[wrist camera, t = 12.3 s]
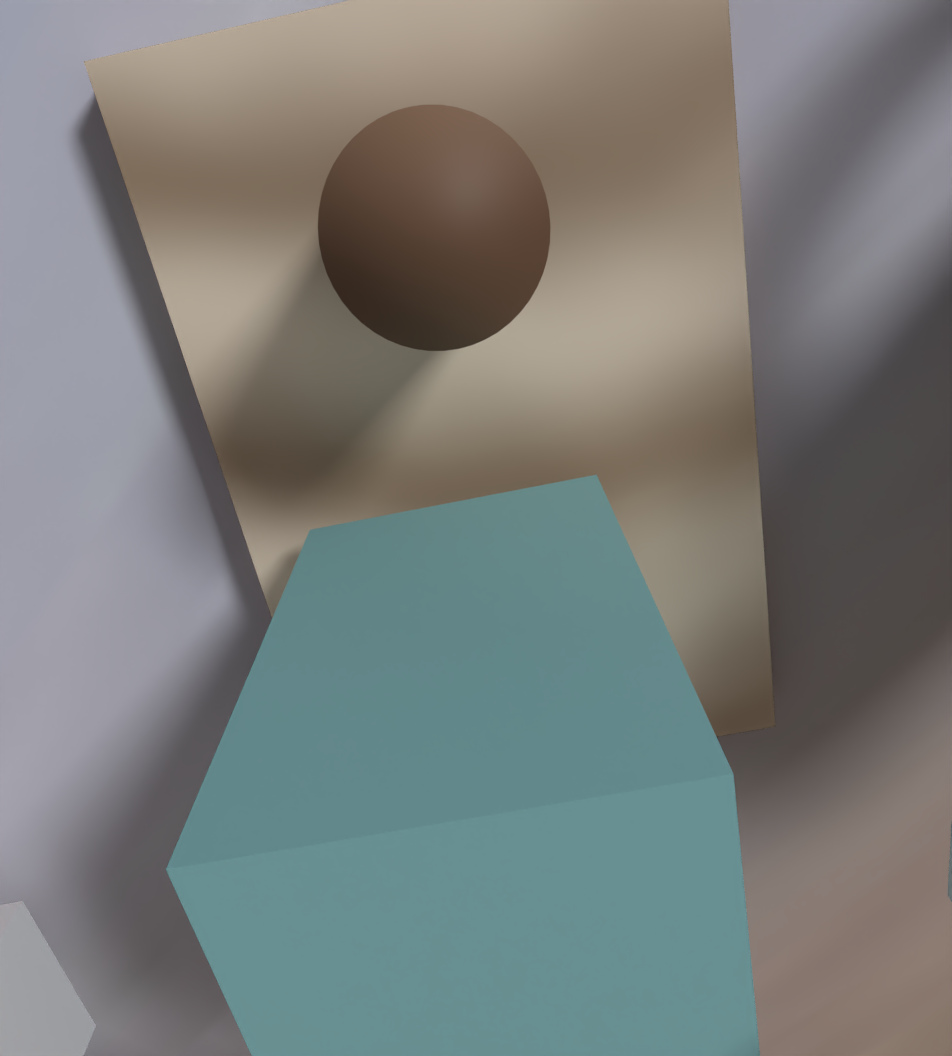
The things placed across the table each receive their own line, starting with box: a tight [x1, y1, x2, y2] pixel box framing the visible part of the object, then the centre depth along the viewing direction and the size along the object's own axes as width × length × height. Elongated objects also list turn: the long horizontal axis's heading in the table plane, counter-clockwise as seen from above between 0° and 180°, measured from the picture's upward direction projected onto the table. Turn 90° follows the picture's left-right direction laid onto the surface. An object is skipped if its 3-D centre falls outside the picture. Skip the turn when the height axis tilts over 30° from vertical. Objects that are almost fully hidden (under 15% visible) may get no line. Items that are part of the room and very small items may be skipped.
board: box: [84, 0, 775, 737], centre depth 15 cm, size 18×12×11 cm, turn 12°
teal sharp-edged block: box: [166, 475, 760, 1056], centre depth 15 cm, size 6×6×10 cm
